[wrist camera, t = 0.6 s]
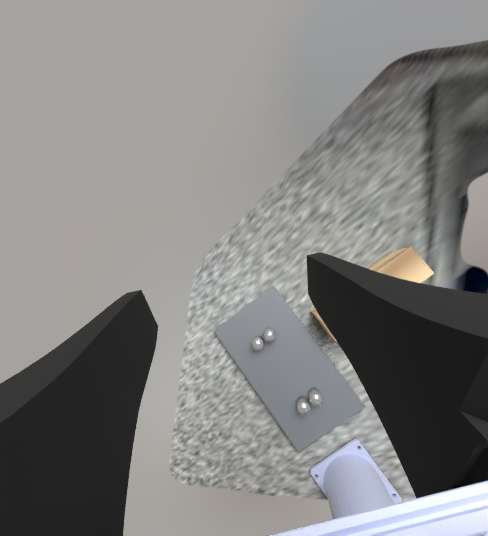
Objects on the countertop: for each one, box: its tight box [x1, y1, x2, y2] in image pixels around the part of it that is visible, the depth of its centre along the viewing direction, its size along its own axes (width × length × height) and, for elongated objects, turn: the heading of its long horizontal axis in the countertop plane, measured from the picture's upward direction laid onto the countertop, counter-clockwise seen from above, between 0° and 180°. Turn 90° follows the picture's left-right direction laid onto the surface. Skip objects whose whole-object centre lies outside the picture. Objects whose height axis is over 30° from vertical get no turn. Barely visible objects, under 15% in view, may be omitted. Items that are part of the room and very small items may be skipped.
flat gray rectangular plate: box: [214, 286, 365, 452], centre depth 32 cm, size 20×11×3 cm, turn 37°
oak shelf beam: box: [310, 247, 434, 342], centre depth 31 cm, size 4×14×5 cm, turn 127°
